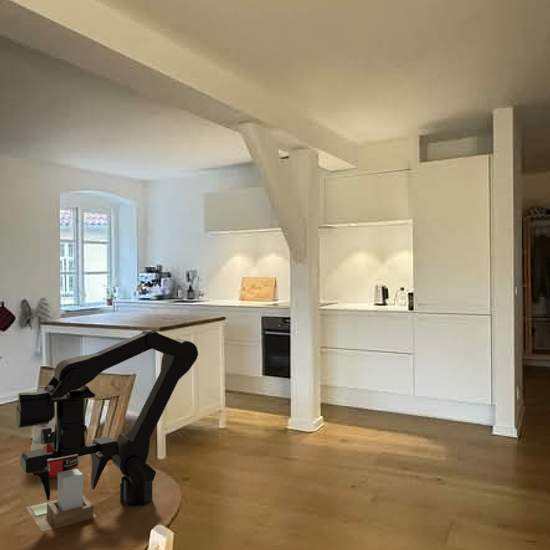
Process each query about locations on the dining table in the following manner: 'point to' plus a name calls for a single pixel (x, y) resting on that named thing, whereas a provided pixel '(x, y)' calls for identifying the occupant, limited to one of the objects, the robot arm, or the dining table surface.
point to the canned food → (60, 463)
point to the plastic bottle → (37, 429)
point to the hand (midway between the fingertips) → (71, 494)
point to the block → (70, 490)
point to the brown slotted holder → (59, 514)
